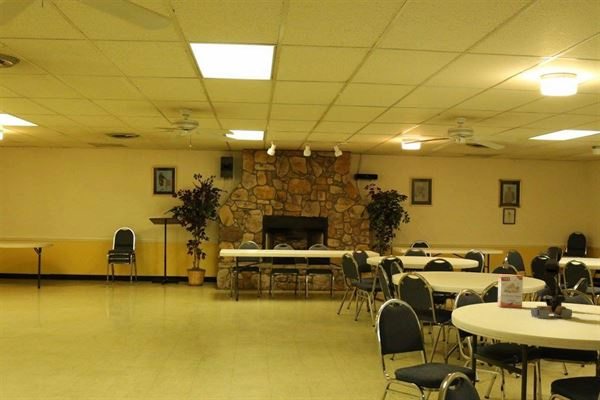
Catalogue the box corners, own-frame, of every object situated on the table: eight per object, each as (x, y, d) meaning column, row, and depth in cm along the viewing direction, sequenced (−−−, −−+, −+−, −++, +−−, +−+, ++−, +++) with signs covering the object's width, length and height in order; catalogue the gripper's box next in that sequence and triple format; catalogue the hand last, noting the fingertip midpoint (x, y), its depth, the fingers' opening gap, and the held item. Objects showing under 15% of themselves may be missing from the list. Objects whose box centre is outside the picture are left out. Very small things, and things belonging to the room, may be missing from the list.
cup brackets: (564, 316, 329) (564, 307, 330) (573, 318, 322) (573, 309, 322) (530, 316, 326) (530, 307, 326) (537, 318, 318) (537, 309, 319)
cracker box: (500, 307, 356) (501, 274, 357) (497, 306, 362) (497, 273, 363) (522, 308, 355) (523, 275, 356) (519, 306, 362) (519, 274, 362)
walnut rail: (562, 312, 327) (562, 305, 327) (565, 313, 323) (565, 306, 324) (536, 312, 325) (536, 305, 325) (540, 313, 321) (540, 306, 321)
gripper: (530, 282, 333) (529, 308, 332) (548, 286, 314) (547, 314, 314) (547, 282, 334) (547, 308, 334) (566, 286, 316) (566, 314, 315)
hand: (551, 311), depth 324 cm, fingers closed on walnut rail, 3 cm apart
